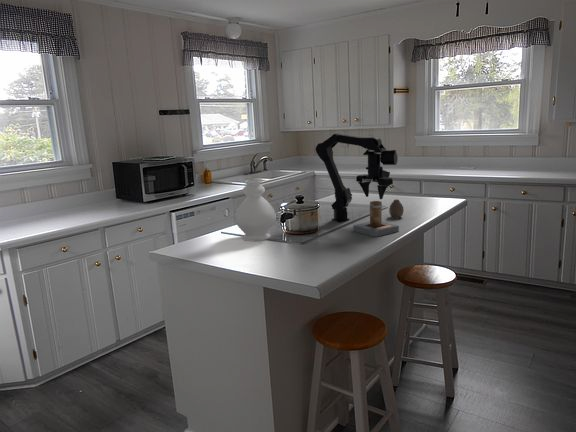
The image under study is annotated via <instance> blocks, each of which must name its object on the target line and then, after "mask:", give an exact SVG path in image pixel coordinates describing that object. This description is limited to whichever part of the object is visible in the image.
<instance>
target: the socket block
mask: <svg viewBox="0 0 576 432" xmlns="http://www.w3.org/2000/svg"><path fill="white" fill-rule="evenodd" d="M352 228H353V231H354V232H357V233H361V234H364V235H366V236H367V235H368V236H370V237H375V238H377V237H380V236H381V237H382V236H386V235H389V234H393V232H394V233H397V232H399V231H400V226H399V225H397V224H393V223H389V222H384V221H382V222H381V227H378V228H373V227H370V221H367V222H362V223H358V224H357V223H356V224H354V225H353V227H352Z"/></svg>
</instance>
